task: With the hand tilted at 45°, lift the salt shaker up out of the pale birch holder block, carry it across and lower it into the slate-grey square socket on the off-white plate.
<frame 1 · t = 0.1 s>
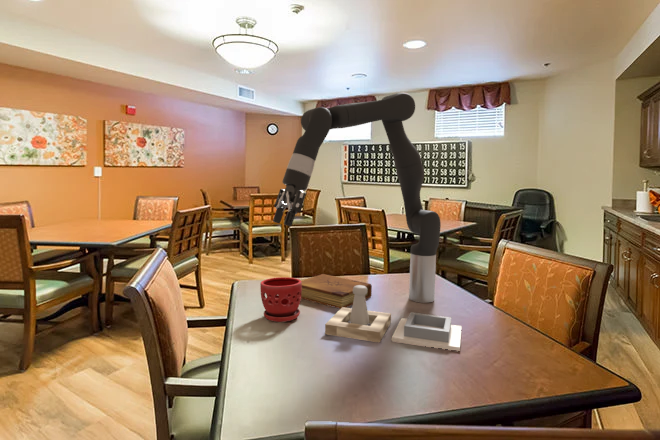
hand: (281, 224, 119), 31 cm above the table, tool tilted 20°, fingers open, 8 cm apart
diary: (332, 298, 153), on the table
birch holder block: (359, 328, 122), on the table
socket plate: (428, 335, 117), on the table
salt shaker: (359, 328, 122), resting in birch holder block
plant pot: (281, 317, 130), on the table
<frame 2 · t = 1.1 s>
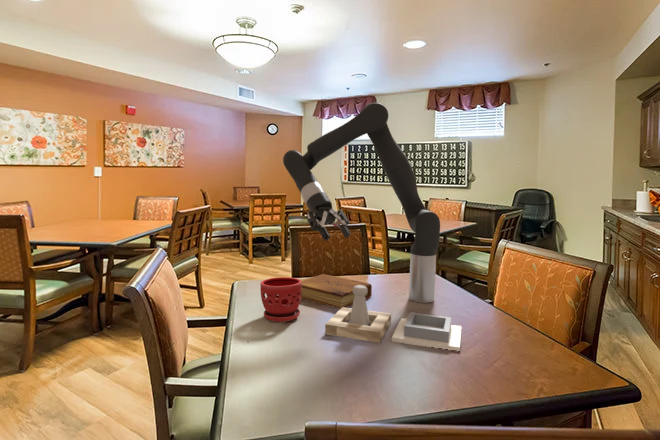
hand: (338, 237, 126), 26 cm above the table, tool tilted 45°, fingers open, 8 cm apart
nothing on the table moved.
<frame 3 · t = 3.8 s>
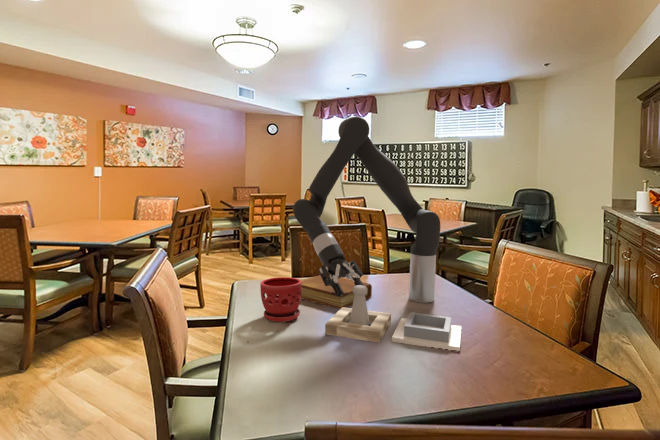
hand: (351, 293, 123), 10 cm above the table, tool tilted 45°, fingers open, 8 cm apart
nothing on the table moved.
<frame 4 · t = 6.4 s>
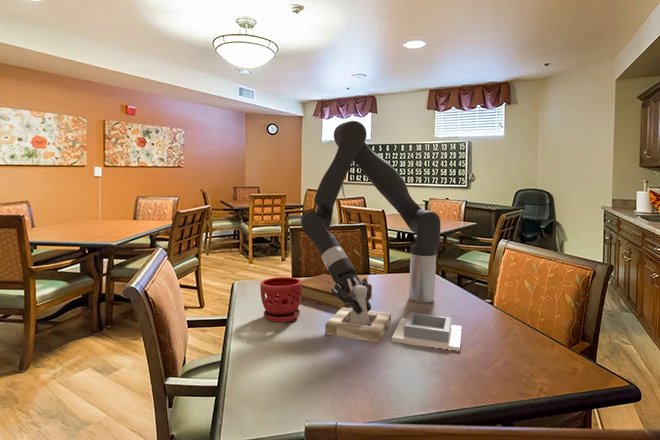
hand: (364, 311, 119), 6 cm above the table, tool tilted 45°, fingers closed on salt shaker, 3 cm apart
salt shaker: (359, 328, 122), resting in birch holder block, touching gripper
everything else where it was.
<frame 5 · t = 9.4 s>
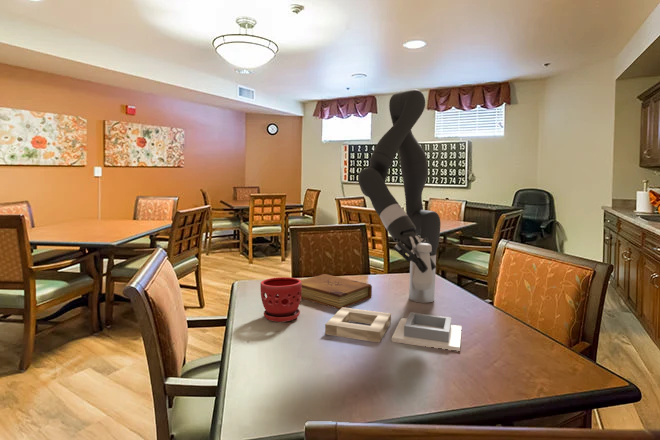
hand: (429, 269, 114), 20 cm above the table, tool tilted 45°, fingers closed on salt shaker, 3 cm apart
salt shaker: (422, 288, 116), point 14 cm above the table, touching gripper
everything else where it was.
when the fingers open (8 cm above the table, at t = 12.6 s): salt shaker stays where it is, resting on socket plate.
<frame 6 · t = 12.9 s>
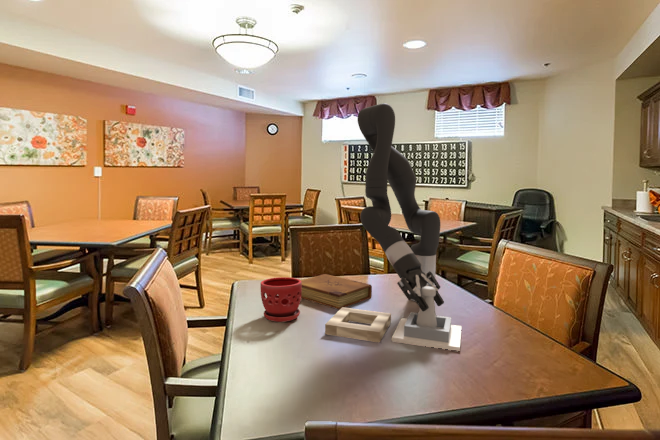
hand: (433, 307, 115), 9 cm above the table, tool tilted 45°, fingers open, 6 cm apart
salt shaker: (426, 331, 117), point 1 cm above the table, touching socket plate
everything else where it was.
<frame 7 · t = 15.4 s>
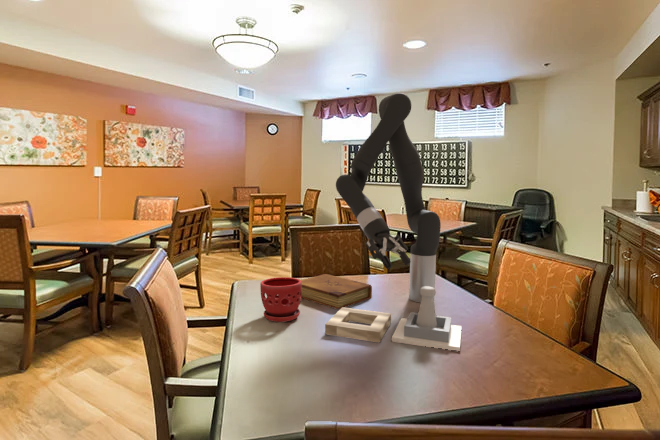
hand: (399, 265, 123), 18 cm above the table, tool tilted 45°, fingers open, 8 cm apart
nothing on the table moved.
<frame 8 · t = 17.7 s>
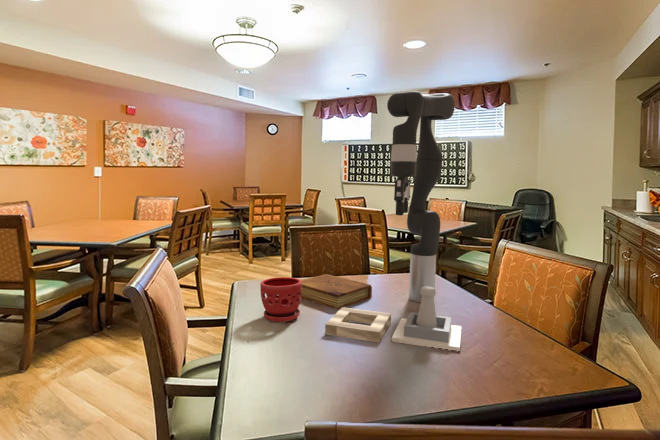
hand: (401, 213, 124), 34 cm above the table, tool pointing down, fingers open, 8 cm apart
nothing on the table moved.
at the end: salt shaker 0.5 cm off-centre on the socket plate, point 1.0 cm above the socket plate's base; salt shaker tilted 0°; the gripper is holding nothing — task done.
